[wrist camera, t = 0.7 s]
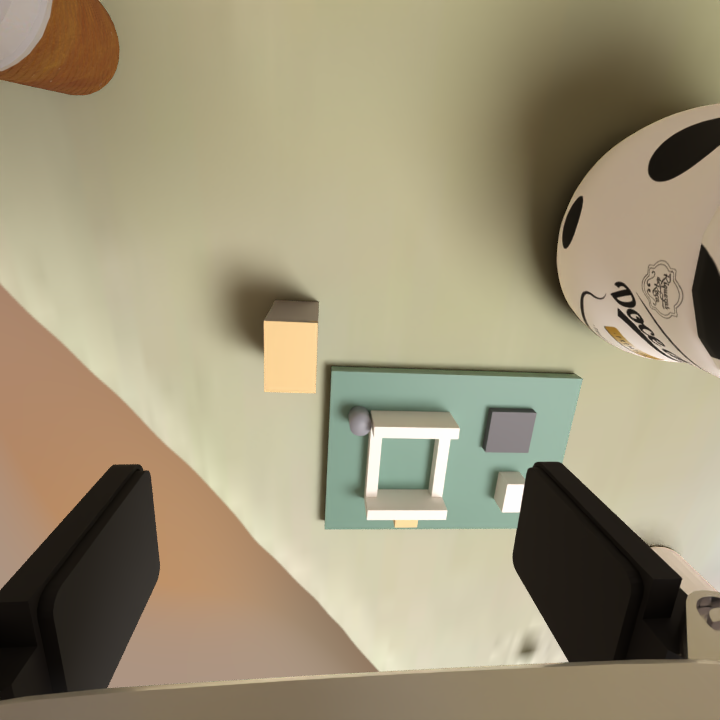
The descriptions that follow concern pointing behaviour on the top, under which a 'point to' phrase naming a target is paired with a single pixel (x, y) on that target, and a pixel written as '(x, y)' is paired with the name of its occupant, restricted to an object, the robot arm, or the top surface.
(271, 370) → the plug
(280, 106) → the top surface
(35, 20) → the disposable coffee cup
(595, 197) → the milk container
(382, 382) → the board
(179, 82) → the top surface
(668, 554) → the mug
